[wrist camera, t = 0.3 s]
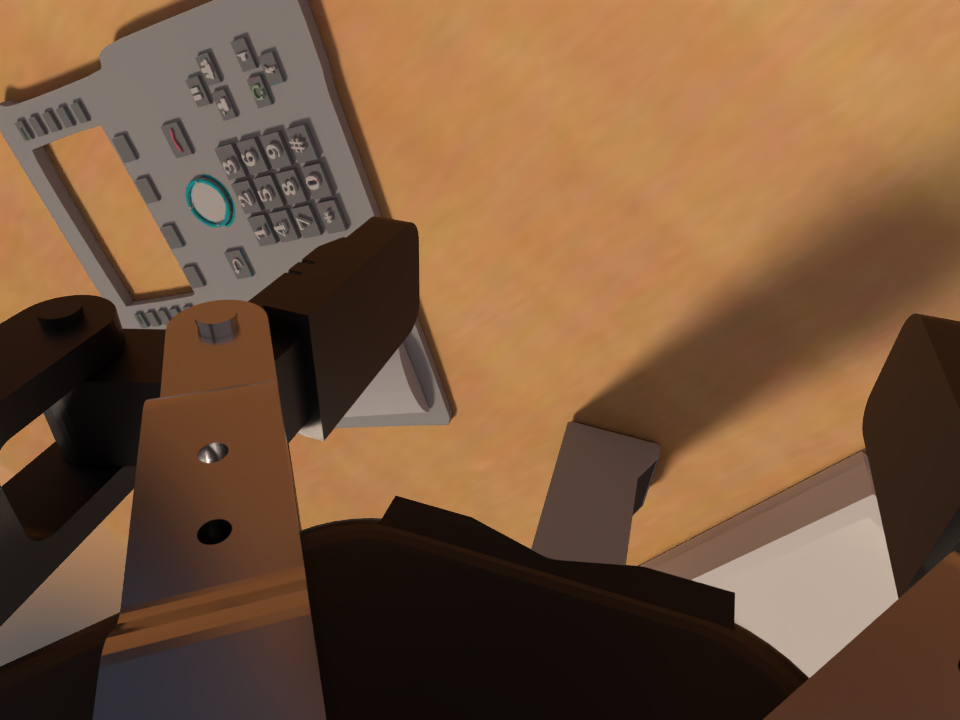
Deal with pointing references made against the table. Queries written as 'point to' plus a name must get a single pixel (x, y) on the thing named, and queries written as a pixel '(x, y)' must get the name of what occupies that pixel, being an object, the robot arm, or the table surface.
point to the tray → (800, 564)
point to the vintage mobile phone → (594, 495)
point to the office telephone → (225, 169)
